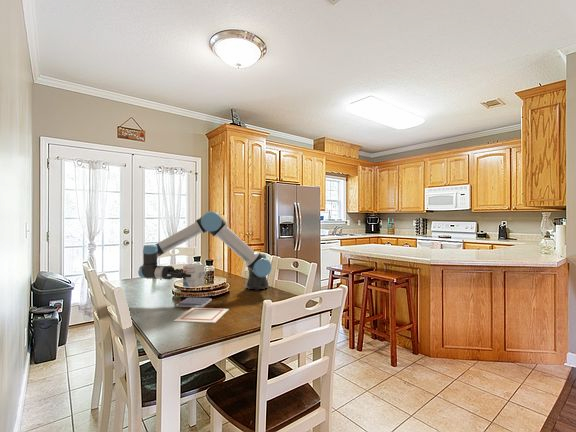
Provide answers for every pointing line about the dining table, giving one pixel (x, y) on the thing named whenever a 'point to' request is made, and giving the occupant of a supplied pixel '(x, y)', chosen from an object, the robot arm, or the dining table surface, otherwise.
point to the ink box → (194, 281)
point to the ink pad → (194, 302)
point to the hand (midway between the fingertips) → (201, 274)
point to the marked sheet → (202, 315)
